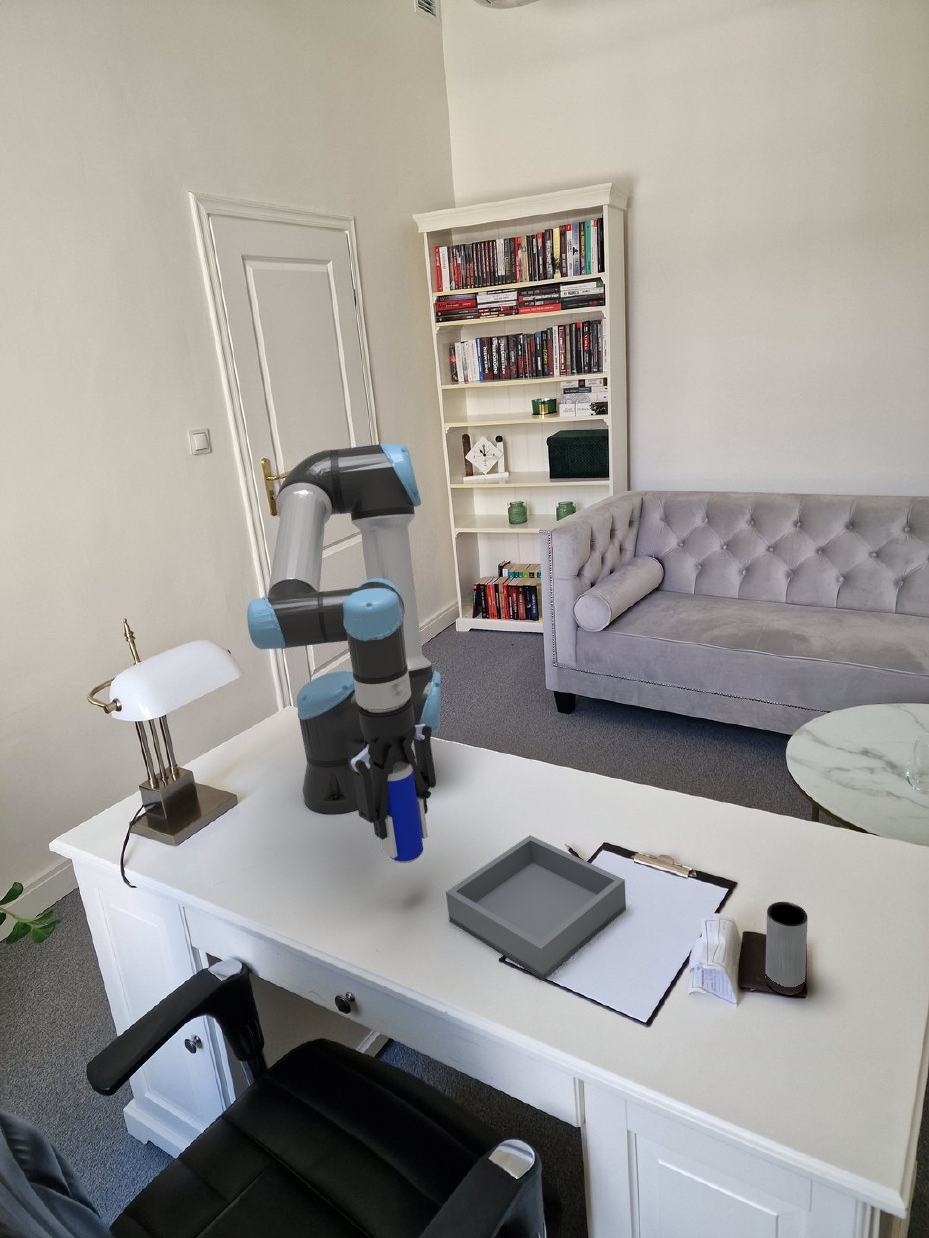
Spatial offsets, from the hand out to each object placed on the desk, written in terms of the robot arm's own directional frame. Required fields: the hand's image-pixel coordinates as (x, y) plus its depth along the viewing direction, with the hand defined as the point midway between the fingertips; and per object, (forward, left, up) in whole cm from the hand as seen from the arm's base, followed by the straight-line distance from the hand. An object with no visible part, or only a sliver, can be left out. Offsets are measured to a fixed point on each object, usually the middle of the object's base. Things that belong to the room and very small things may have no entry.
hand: (405, 843), depth 119 cm
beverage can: (0, 0, -2) cm, 2 cm away
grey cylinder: (+49, +20, -10) cm, 53 cm away
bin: (+17, +10, -10) cm, 22 cm away
